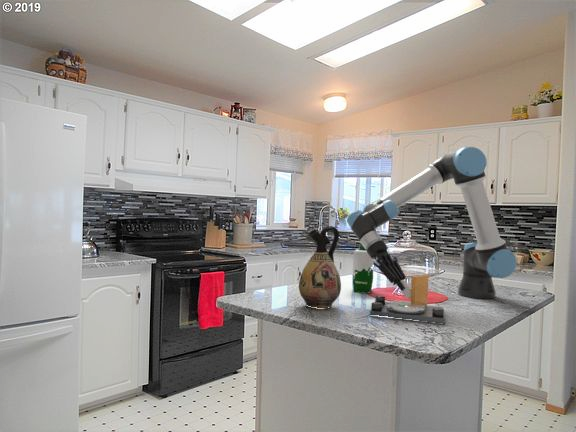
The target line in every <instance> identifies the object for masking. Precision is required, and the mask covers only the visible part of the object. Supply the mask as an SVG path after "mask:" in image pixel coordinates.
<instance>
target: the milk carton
mask: <svg viewBox="0 0 576 432" xmlns="http://www.w3.org/2000/svg"><path fill="white" fill-rule="evenodd" d="M374 262H375V259H372V258H371V257H370V256H369V254H368V253H367V250H365V248H364V247H363V245H362V244H361V245H359V249H357V248H356V249H355V250H354V251H353V259H352V289H353V290H352V292H353V291H355V292H354V293H362V292H370V293H371V292H372V287H373V282H374V269H373V270H372V269H371V266H372V265H374V264H373V263H374ZM374 266H375V265H374Z"/></svg>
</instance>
